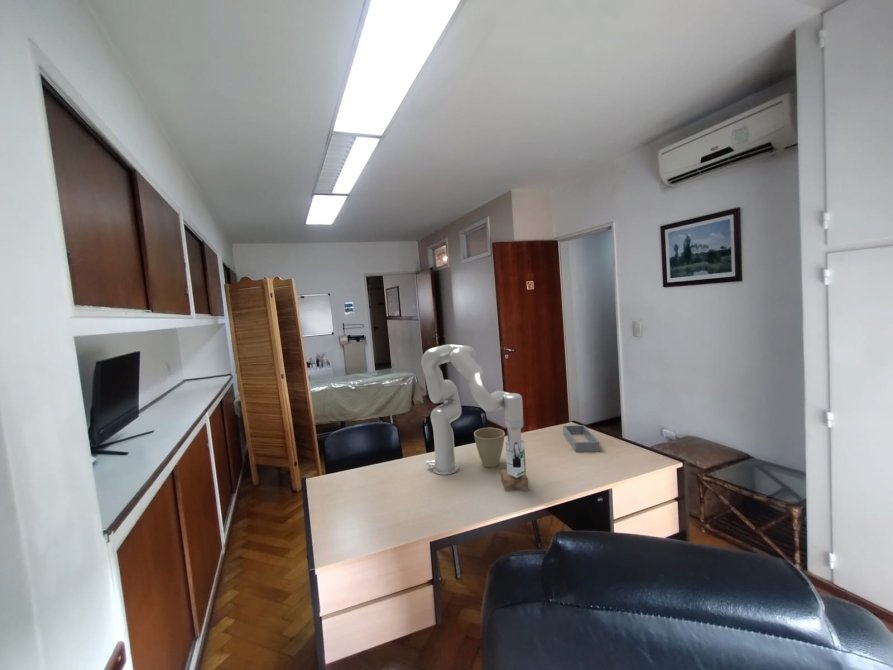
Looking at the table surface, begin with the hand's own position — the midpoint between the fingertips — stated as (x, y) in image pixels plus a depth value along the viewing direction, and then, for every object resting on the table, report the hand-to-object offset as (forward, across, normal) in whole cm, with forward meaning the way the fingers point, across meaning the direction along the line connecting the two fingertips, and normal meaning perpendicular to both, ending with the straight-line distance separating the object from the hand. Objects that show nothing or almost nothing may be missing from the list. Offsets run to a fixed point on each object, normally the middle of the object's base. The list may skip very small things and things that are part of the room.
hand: (515, 462), depth 162 cm
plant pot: (+11, -23, -10) cm, 27 cm away
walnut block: (+11, -2, -1) cm, 11 cm away
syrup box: (+5, 0, 0) cm, 5 cm away
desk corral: (+11, -47, +40) cm, 63 cm away
